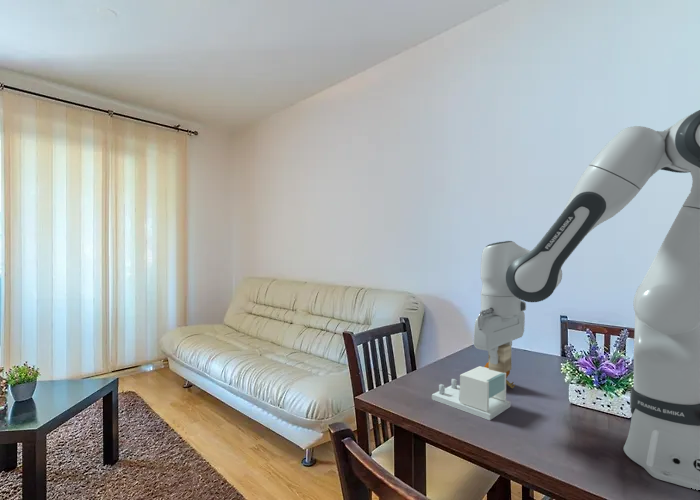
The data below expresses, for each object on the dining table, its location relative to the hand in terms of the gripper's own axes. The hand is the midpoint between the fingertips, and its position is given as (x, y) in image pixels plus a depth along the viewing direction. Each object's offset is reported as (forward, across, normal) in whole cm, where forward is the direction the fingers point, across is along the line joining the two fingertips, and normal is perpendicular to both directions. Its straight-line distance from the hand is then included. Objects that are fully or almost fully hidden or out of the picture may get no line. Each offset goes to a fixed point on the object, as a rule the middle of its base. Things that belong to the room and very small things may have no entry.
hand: (500, 360), depth 94 cm
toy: (+17, +24, +14) cm, 33 cm away
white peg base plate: (+16, +7, +12) cm, 22 cm away
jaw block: (+2, 0, 0) cm, 2 cm away
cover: (+15, +7, +8) cm, 18 cm away
